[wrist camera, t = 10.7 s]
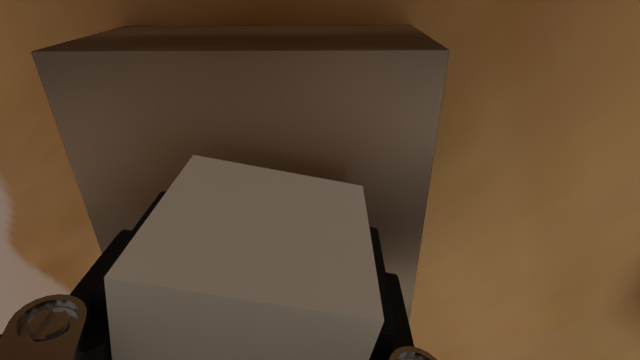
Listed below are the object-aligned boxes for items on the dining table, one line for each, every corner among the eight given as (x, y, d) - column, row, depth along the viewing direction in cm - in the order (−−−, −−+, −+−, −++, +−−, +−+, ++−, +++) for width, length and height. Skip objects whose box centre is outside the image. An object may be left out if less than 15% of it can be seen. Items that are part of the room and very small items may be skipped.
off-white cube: (193, 154, 11) (103, 277, 7) (362, 186, 11) (384, 321, 7) (187, 282, 13) (119, 435, 9) (328, 304, 14) (328, 460, 9)
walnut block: (126, 25, 16) (31, 51, 11) (409, 24, 16) (449, 50, 11) (178, 248, 22) (131, 335, 17) (387, 250, 22) (406, 338, 17)
